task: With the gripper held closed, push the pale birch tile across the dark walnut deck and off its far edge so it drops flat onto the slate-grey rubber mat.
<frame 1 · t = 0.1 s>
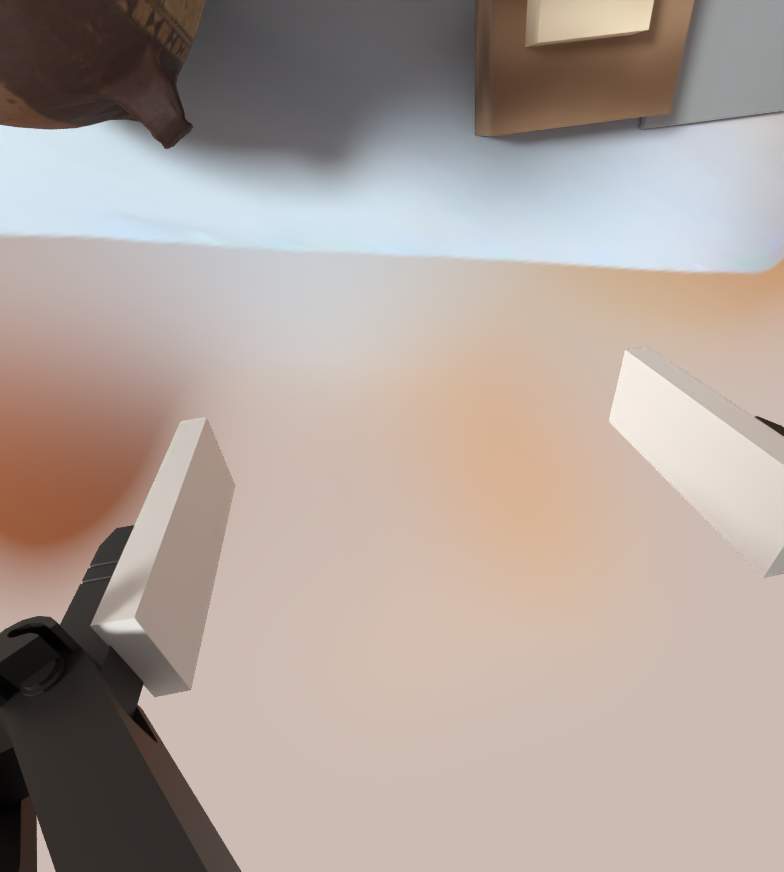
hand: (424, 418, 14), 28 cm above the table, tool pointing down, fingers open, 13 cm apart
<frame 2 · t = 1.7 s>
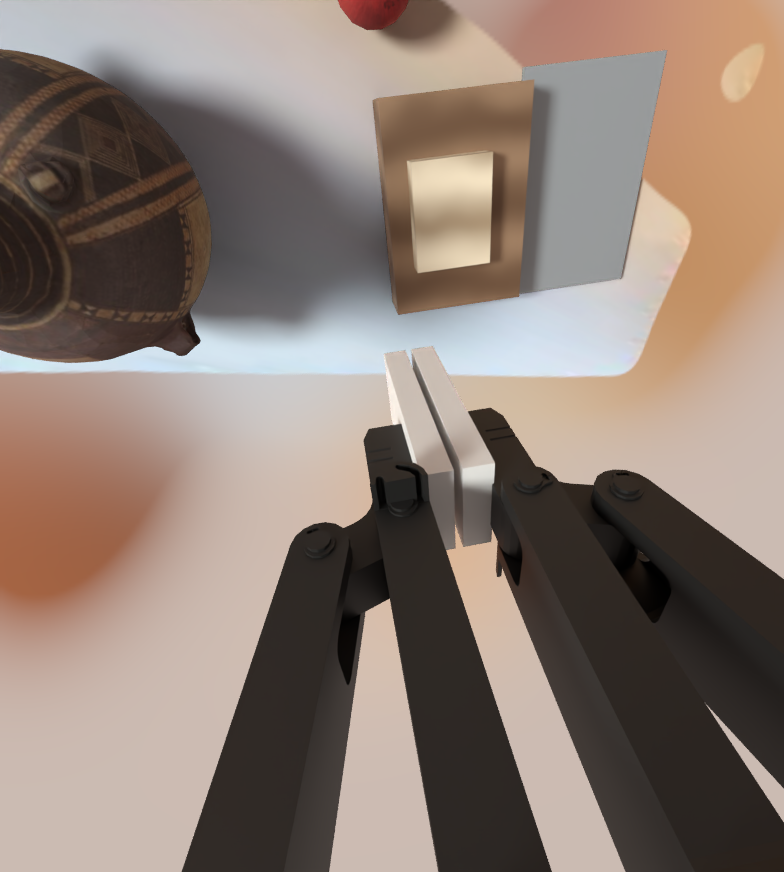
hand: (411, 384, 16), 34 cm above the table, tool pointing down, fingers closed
mat: (576, 186, 45), on the table
tile: (447, 212, 41), point 4 cm above the table, touching deck
vase: (114, 200, 40), on the table
deck: (447, 204, 44), on the table
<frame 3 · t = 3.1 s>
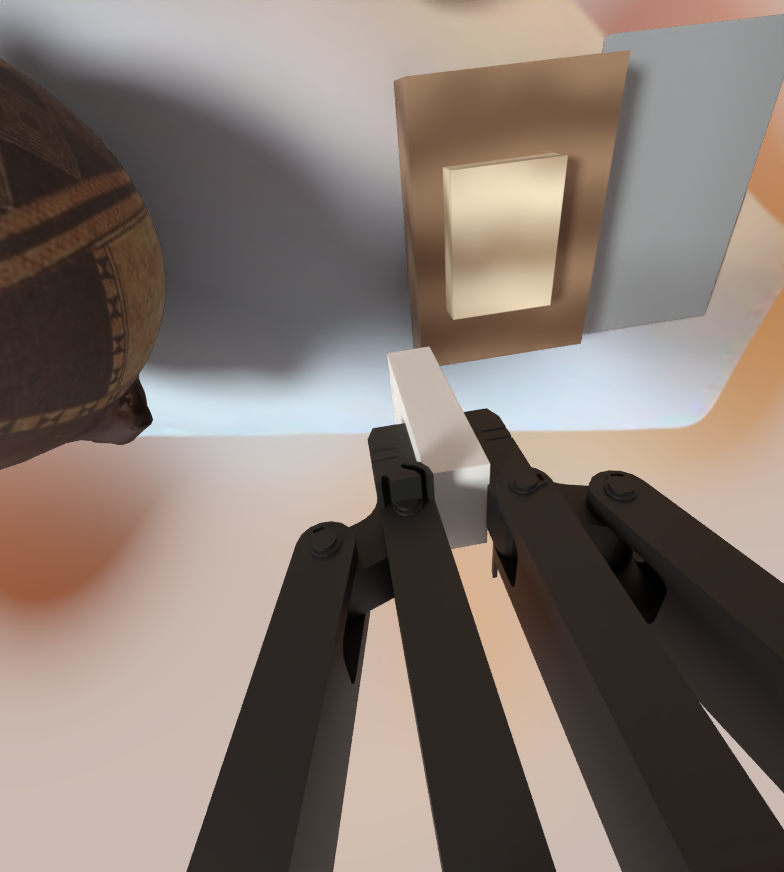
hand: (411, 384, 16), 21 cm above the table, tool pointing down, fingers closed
mat: (660, 200, 34), on the table
tile: (495, 237, 30), point 4 cm above the table, touching deck
vase: (33, 221, 29), on the table
deck: (490, 224, 33), on the table
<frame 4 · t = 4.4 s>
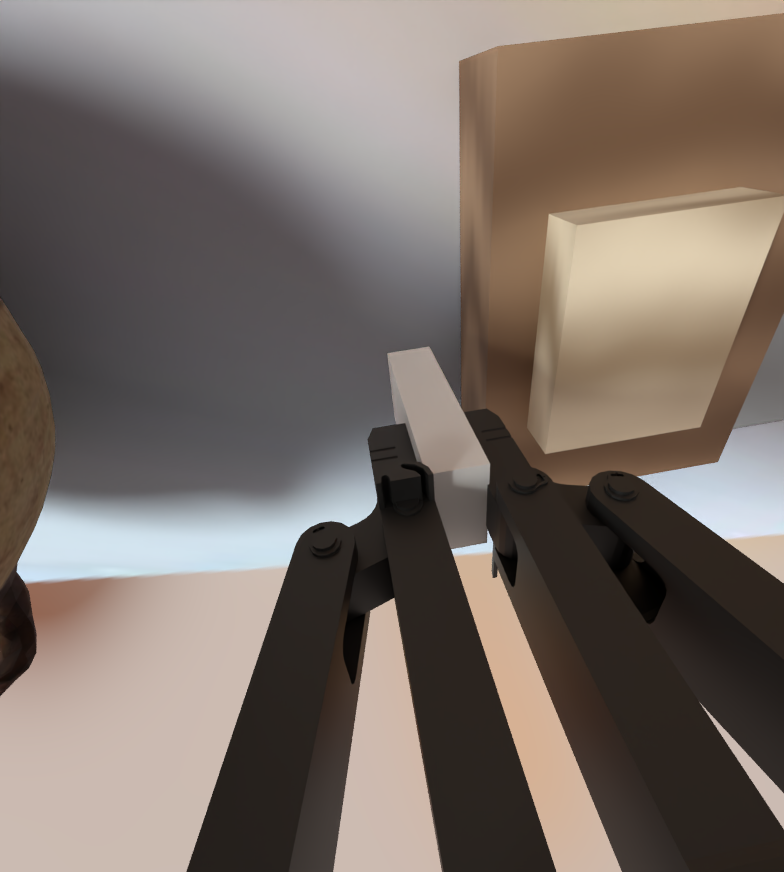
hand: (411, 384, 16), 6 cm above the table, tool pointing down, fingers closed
tile: (619, 323, 18), point 4 cm above the table, touching deck
deck: (592, 289, 21), on the table
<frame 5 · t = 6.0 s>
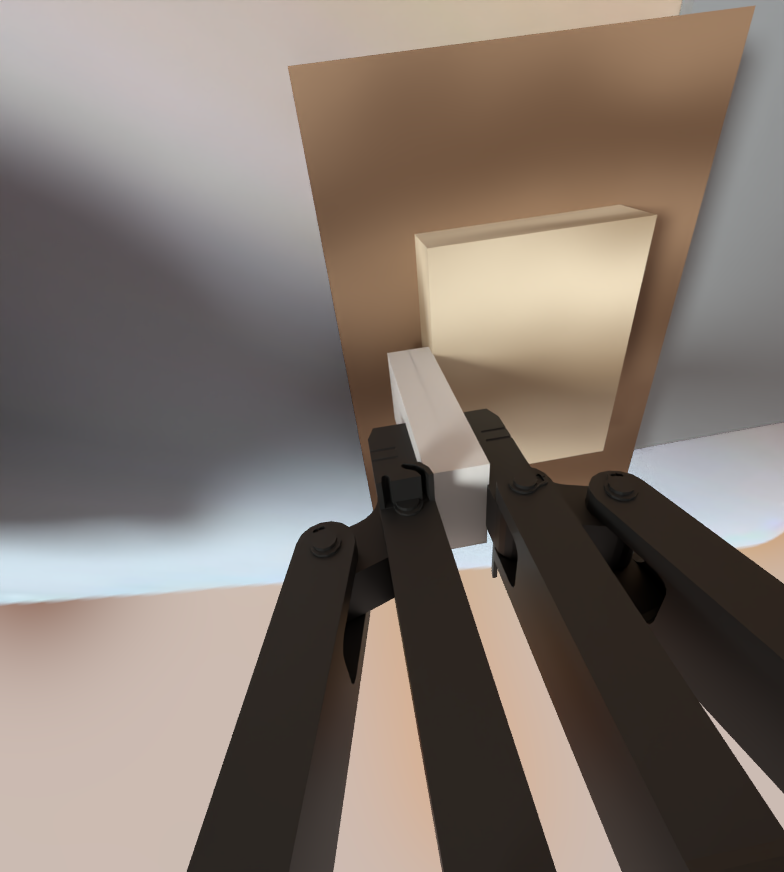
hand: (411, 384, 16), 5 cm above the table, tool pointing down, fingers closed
mat: (754, 263, 21), on the table
tile: (510, 345, 17), point 4 cm above the table, touching deck, gripper
deck: (480, 308, 20), on the table
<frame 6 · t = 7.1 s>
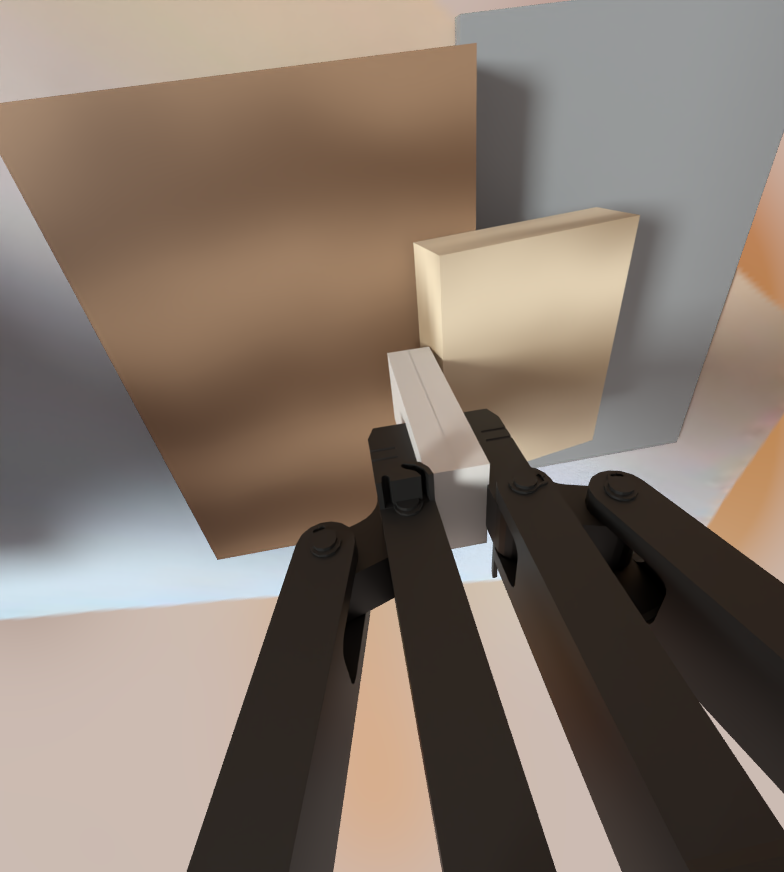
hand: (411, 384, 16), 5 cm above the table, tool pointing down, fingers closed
mat: (594, 290, 21), on the table
tile: (503, 346, 18), point 4 cm above the table, tilted 11°, touching deck, gripper
deck: (309, 336, 20), on the table
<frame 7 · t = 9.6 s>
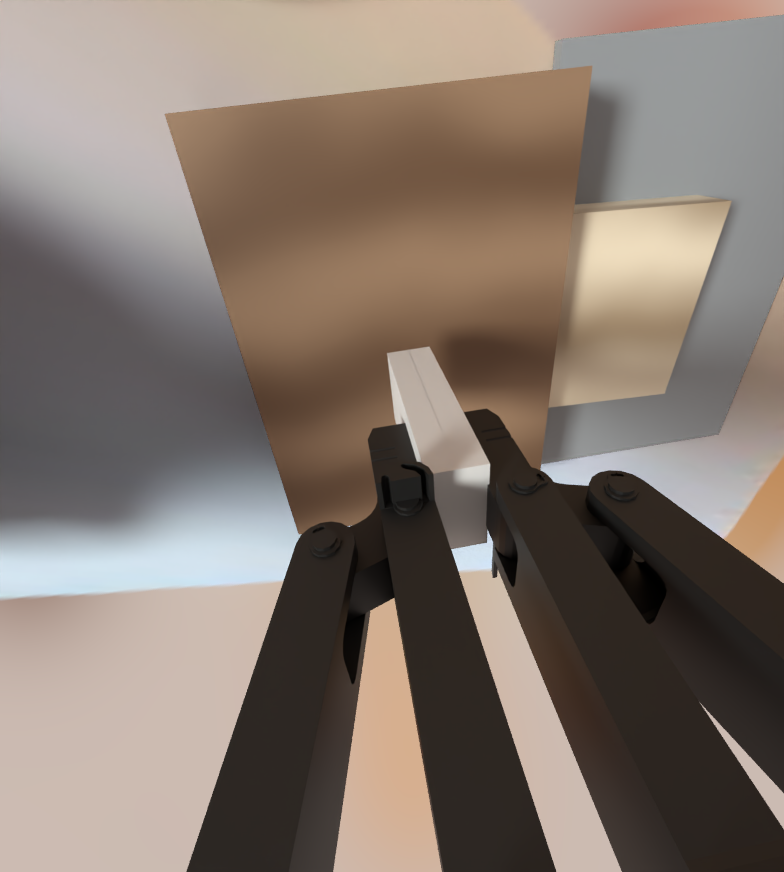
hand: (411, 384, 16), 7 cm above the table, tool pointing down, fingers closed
mat: (654, 288, 23), on the table
tile: (600, 302, 22), point 1 cm above the table, touching mat
deck: (393, 326, 22), on the table
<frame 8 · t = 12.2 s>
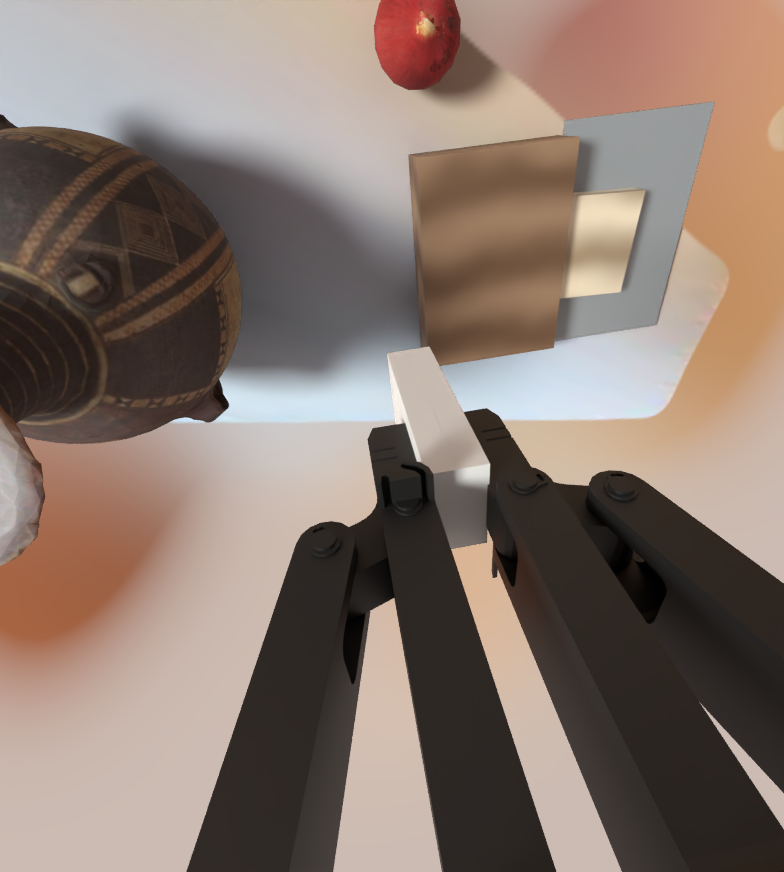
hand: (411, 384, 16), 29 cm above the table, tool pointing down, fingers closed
mat: (614, 236, 44), on the table
tile: (586, 243, 43), point 1 cm above the table, touching mat
vase: (138, 257, 39), on the table
deck: (481, 255, 43), on the table
onion: (407, 44, 33), on the table
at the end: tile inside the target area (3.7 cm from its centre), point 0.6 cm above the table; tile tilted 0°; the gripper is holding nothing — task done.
